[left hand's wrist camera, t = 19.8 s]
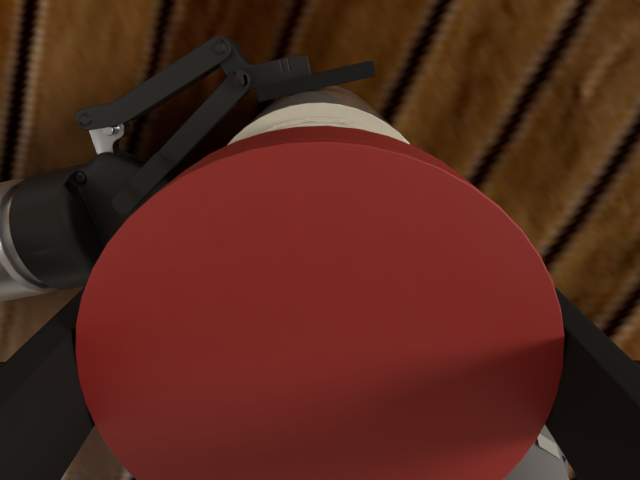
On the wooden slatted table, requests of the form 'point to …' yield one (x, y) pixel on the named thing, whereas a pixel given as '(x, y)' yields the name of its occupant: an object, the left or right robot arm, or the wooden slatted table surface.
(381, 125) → the jar
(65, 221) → the right robot arm
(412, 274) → the lid
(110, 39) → the wooden slatted table surface
